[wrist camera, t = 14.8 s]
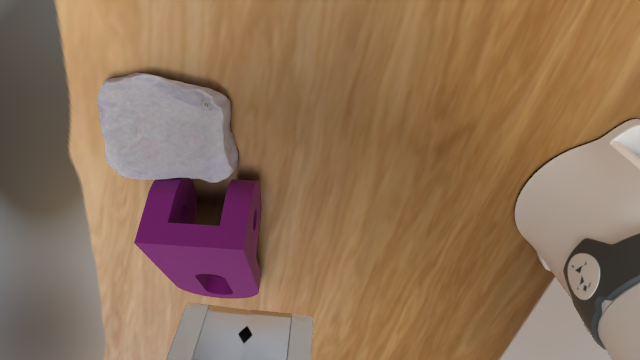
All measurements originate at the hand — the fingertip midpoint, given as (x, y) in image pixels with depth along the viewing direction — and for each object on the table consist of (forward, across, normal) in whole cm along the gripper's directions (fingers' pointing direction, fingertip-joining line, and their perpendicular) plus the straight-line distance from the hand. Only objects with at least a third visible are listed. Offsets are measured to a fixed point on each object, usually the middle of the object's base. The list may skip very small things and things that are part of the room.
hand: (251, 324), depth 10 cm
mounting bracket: (+30, -8, -25) cm, 39 cm away
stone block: (+30, -12, -11) cm, 34 cm away
